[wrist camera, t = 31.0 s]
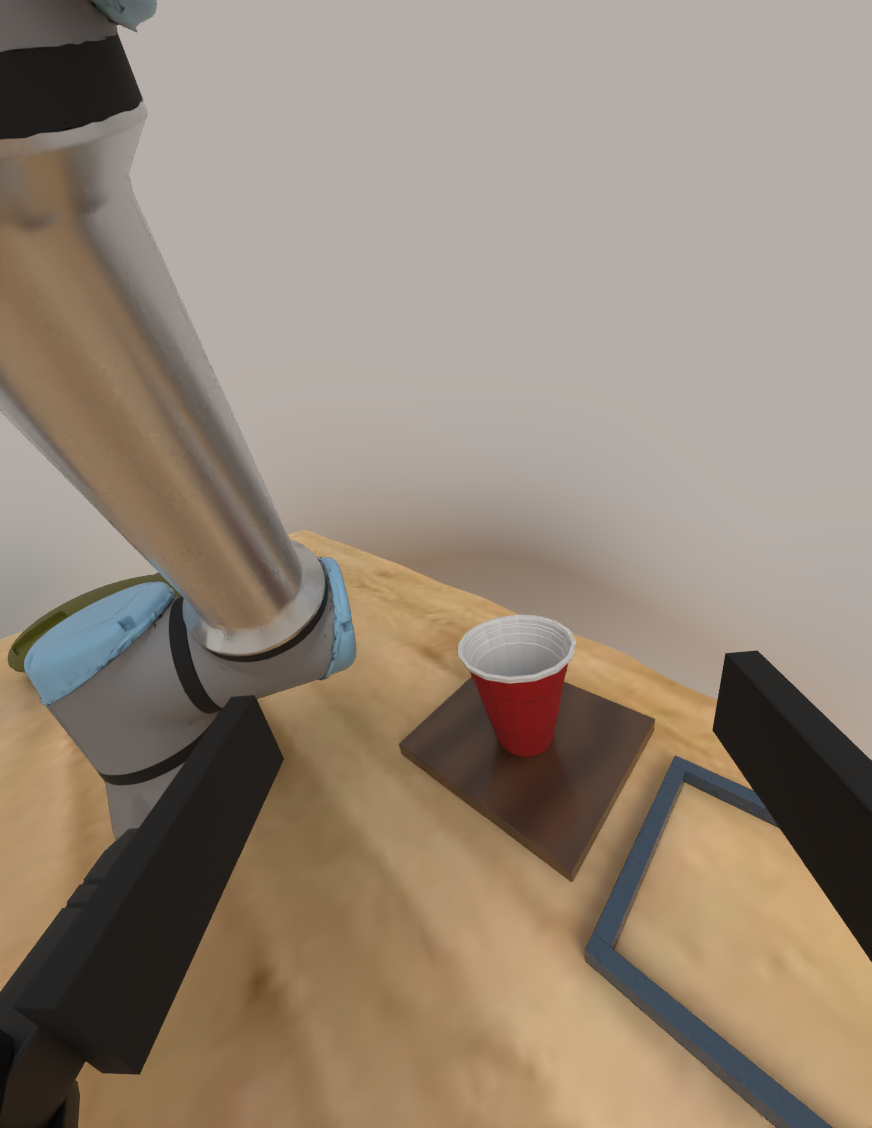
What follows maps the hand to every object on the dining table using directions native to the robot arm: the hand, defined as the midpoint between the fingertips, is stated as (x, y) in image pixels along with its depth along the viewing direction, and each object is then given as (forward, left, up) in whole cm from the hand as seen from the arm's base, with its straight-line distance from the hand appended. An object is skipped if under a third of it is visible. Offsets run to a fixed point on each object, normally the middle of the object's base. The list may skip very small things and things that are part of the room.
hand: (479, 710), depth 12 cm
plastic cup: (-13, +19, -27) cm, 35 cm away
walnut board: (-13, +19, -28) cm, 36 cm away
